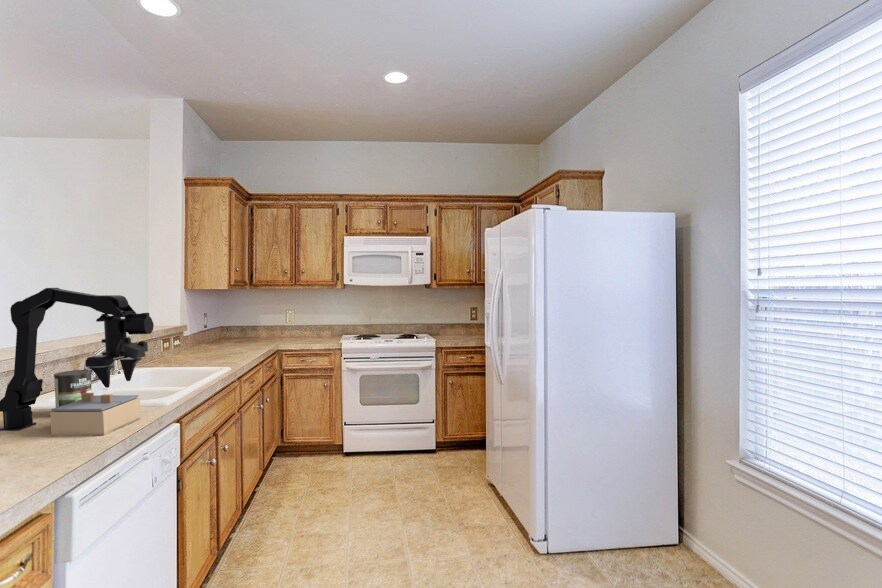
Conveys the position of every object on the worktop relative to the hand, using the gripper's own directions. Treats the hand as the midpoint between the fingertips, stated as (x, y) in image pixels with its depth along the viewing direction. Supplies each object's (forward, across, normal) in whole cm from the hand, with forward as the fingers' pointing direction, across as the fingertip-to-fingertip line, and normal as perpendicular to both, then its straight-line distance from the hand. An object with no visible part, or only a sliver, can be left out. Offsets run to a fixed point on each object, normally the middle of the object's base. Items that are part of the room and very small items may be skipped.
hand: (118, 384), depth 152 cm
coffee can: (+13, +12, +25) cm, 30 cm away
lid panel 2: (+5, 0, +4) cm, 6 cm away
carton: (+12, -4, +4) cm, 14 cm away
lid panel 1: (+5, -8, +4) cm, 10 cm away
